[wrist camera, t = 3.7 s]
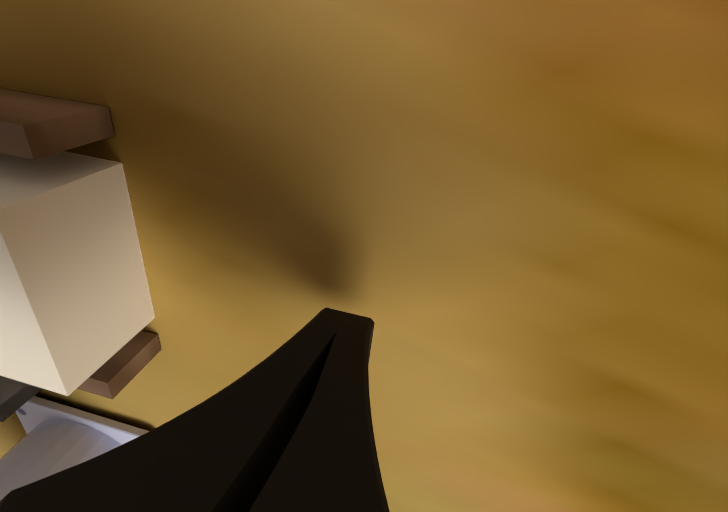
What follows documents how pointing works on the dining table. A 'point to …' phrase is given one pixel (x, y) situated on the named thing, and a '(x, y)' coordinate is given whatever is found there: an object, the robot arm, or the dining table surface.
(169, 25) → the dining table surface
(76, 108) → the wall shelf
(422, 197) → the dining table surface
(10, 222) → the cream block
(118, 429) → the robot arm
